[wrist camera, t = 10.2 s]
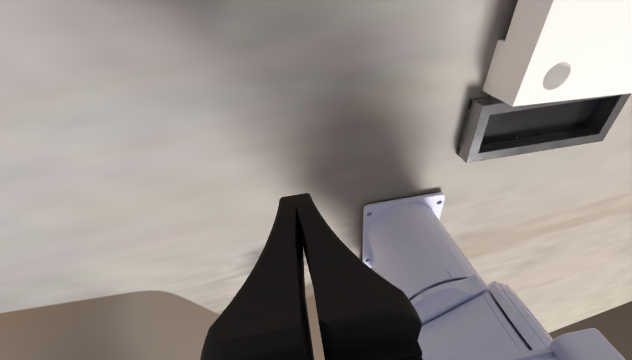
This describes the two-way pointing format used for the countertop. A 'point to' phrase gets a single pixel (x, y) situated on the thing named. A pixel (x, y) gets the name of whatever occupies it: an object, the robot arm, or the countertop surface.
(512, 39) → the bracket
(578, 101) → the trap pits
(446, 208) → the countertop surface
